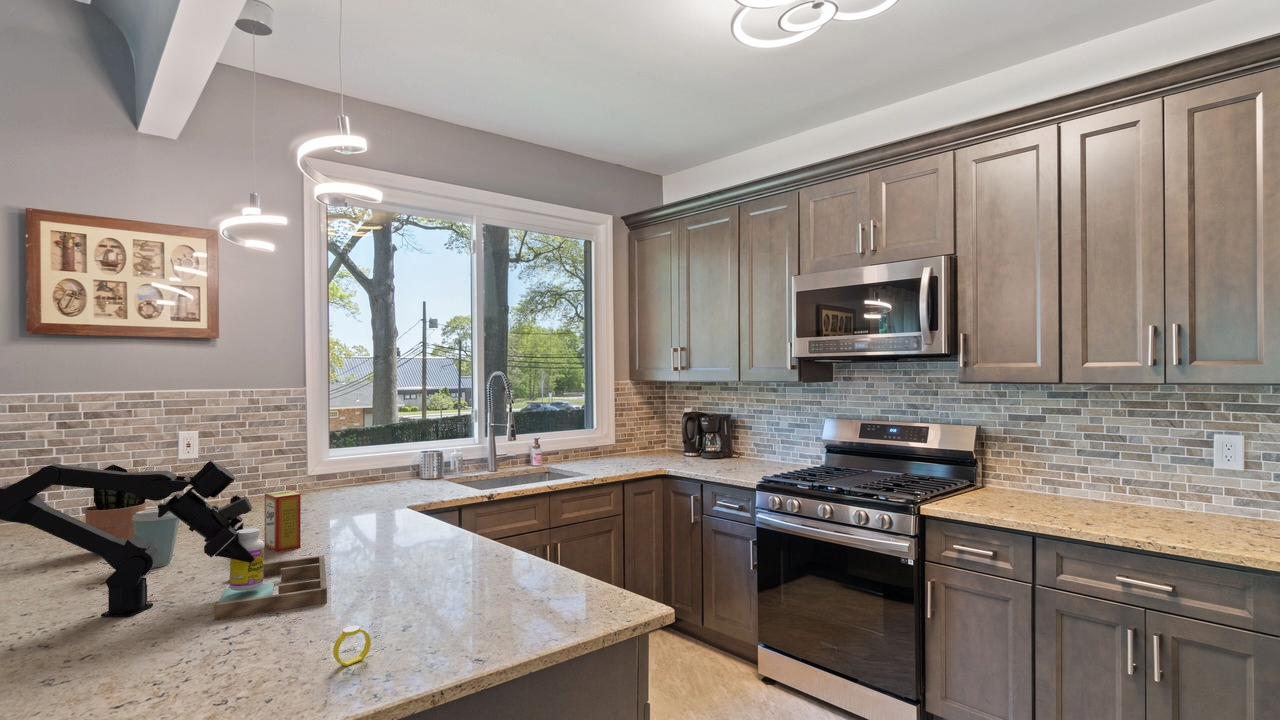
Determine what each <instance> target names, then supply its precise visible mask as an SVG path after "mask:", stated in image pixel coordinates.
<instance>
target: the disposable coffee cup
mask: <svg viewBox="0 0 1280 720" xmlns="http://www.w3.org/2000/svg"><path fill="white" fill-rule="evenodd" d="M132 520H133V523H134V530H135V534H136V535H138V536H139V537H141V538H142V539H144V540H146V541H152V542H153V543H152V544H151V545H153V546H154V547H156V548H157V550H158V554H159V557H158V560H157V562H156V564H155V565H154V566H153V567H152V568H151V569H155V568H156V569H157V568H162V567H165V566H168V565H170V564H171V561H172V560H173V555H174V554H173V553H174V550H175V546H176V545H175V544H176V541H177V535H178V529H179V526H180V521H181V520H180V519H179V518H177V517H176V516H175V515H173V514H172V513H171V512H169V511H168V512H167V513H166V514H164V515H163V516H162V517H161V518H159V517H158V508H155V509H154V508H153V509H148V510H147V509H145V511H140V512H137V513H135V515H133V519H132Z"/></svg>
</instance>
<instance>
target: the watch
mask: <svg viewBox="0 0 1280 720" xmlns="http://www.w3.org/2000/svg"><path fill="white" fill-rule="evenodd" d="M359 633H361V634H362V635H363V636H364V640H365V644H364V646H363V650H361V652H360V654H359V655H358V656H356V657H354V658H351V659H349V660H347V661H342V660H341V658H340V656H339V655H340V654H339V653H340V652H339V651H340V650H339V649H340V647H341V644H342V642H343V641H344V640H345V639H346V638H347V637H350V636H351V637H352V636H355V635H357V634H359ZM371 643H372V641H371V636H370V634H369V633H368V632H367V631H366V630H364V629H362V628H361V627H360V625H350V626H347V627H344V628H343V629H342V633H341V634H340V635H339V636H338V637H337V638H336V640H335V642H334V644H333V648H332V652H333V653H332V655H333V658H334V659H335V661H336V663H338V664H340V665H342V666H344V667H348V666H350V665H353V664H355V663H358V662H360V661H363V660H364V659H365V658H366V656H367V655H368V654H369V652H370V649H371Z"/></svg>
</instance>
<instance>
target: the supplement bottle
mask: <svg viewBox="0 0 1280 720" xmlns="http://www.w3.org/2000/svg"><path fill="white" fill-rule="evenodd" d="M236 532H237V533H238V532H239V541H240V543H241V544H242V545H243V546H244V547H245V548H246V549H247V550H248V551H249V553H250V554H251V555H252V556H253V557H254V558H255V560H254V561H253V562H252V563H249V562H244V561H240V560H235V559H230V558H229V588H230V589H232V590H236V591H244V590H250V589H254V588H257V587H259V586H261V585H262V584H264V576H263V573H264V563H265V542H264V541H263V540H262V539H259V536H260V533H261V531H260V529H259V528H243V529H242V530H238V531H236ZM237 533H236V534H237Z"/></svg>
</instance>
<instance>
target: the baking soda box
mask: <svg viewBox="0 0 1280 720" xmlns="http://www.w3.org/2000/svg"><path fill="white" fill-rule="evenodd" d="M301 498H302V497H301V493H299V492H295V491H293V490H289V489H288V490H287V489H286V490H281V491H273V492H267V493H264V548H266V549H269V550H270V551H273V552H275V553H279V552H285V551H291V550H295V549H300V548H301V507H302V506H301V505H302V504H301V501H302V500H301Z"/></svg>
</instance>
